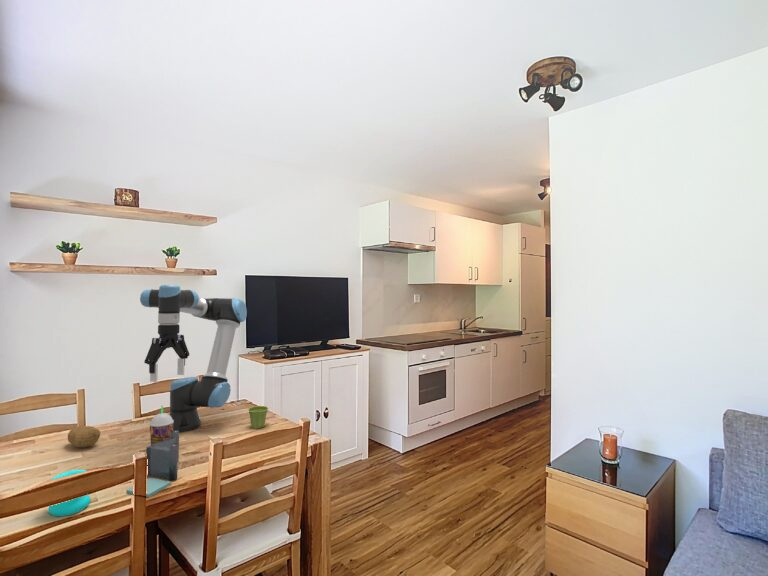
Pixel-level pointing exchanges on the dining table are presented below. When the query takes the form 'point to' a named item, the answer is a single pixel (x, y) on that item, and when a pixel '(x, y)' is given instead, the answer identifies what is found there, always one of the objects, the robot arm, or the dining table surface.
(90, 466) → the dining table surface
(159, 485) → the pad
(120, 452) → the dining table surface
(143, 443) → the dining table surface
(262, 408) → the plant pot
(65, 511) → the teal ball
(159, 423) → the smoothie
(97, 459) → the dining table surface
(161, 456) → the magazine holder
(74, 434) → the potato
